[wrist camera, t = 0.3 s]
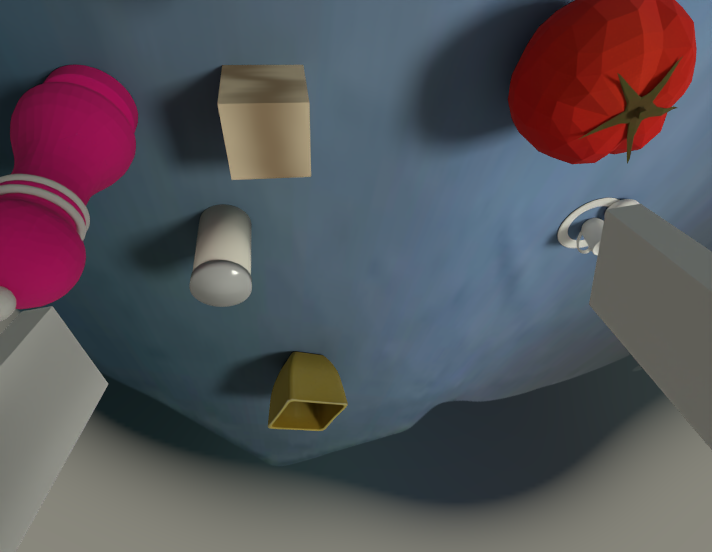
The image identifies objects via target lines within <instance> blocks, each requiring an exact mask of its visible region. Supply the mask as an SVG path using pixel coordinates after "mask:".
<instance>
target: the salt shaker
mask: <svg viewBox="0 0 712 552" xmlns="http://www.w3.org/2000/svg"><path fill="white" fill-rule="evenodd" d="M251 289H252V278H251V220H250V218H249V216H248V215H247V214H246V213H245V212H244V211H243V210H241V209H240V208H238V207H235V206H232V205H225V204H221V205H215V206H212V207H209V208H208V209H206V210H205V211H204V212H203V213H202V215H201V217H200V221H199V228H198V236H197V243H196V251H195V258H194V266H193V272H192V274H191V279H190V291H191V293H192V295H193V296H194V297H195V298H196V299H197V300H199V301H201V302H203V303H205V304H208V305H212V306H218V307H226V306H232V305H236V304H239V303H241V302H243V301H244V300H246V299H247V298H248V297H249V295H250V293H251Z"/></svg>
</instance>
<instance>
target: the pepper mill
mask: <svg viewBox="0 0 712 552" xmlns="http://www.w3.org/2000/svg"><path fill="white" fill-rule="evenodd" d="M137 123H138V112H137V108H136V105H135V103H134V100H133V99H132V97H131V95H130V94H129V92H128V91H127V90H126V89H125V88H124V87H123V86H122V85H121V84H120V83H119V82H118V81H117V80H116V79H114V78H113V77H111V76H110V75H108V74H106V73H104V72H103V71H101V70H98V69H95V68H92V67H88V66H83V65H67V66H63V67H60V68H58V69H56V70H54V71H53V72H52V73H51V74H50V75H49V76H48V77H47V79H46V80H45V81H44V83H43V84H40V85H37V86H35V87H33V88H31V89H29V90H28V91H27V92H26V93H24V94H23V95H22V97H21V98H20V99H19V101H18V103H17V105H16V107H15V109H14V112H13V114H12V117H11V124H10V140H11V145H12V149H13V154H14V160H15V164H14V169H13V171H12V173H11V175H6V176H2V177H0V321H2V320H4V319H6V318H8V317H9V316H10V315H11V314H12V313H13V312H14V310H15V309H26V308H33V307H40V306H43V305H46V304H49V303H51V302H53V301H55V300H57V299H59V298H61V297H62V296H64V295H65V294H67V293H68V292H69V291H70V290H71V289H72V287H73V286H74V285H75V284H76V283H77V281H78V280H79V278H80V276H81V274H82V272H83V269H84V266H85V260H86V253H85V247H84V243H83V240H84V238H85V234H86V231H87V230H88V227H89V223H90V216H89V213H88V210H87V208H86V205H87V203H88V201H89V199H90V197H91V196H92V195H94V194H95V193H97V192H99V191H101V190H103V189H105V188H107V187H109V186H110V185H112V184H113V183H115V182H116V181H117V180H118V179H119V178H120V177H122V176H123V175H124V174H125V172H126V171H127V169H128V168H129V166H130V164H131V162H132V161H133V158H134V155H135V150H136V140H135V135H134V132H135V130H136V127H137Z"/></svg>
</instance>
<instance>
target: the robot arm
mask: <svg viewBox="0 0 712 552" xmlns="http://www.w3.org/2000/svg"><path fill="white" fill-rule="evenodd" d="M589 305H590V306H591V307H592V308H593V310H594V311H595V312H596V313H597V314H598V316H599V317H600V318H601V319H602V320H603V321H604V323H605V324H606V325H607V326H608V327H609V329H610V330H611V331H612V332H613V333H614V335H615V336H616V337H617V338H618V339H619V340H620V342H621V343H622V344H623V345H624V346H625V348H626V349H627V350H628V351H629V352H630V353H631V355H632V356H633V357H634V358H635V359H636V360H637V362H638V363H639V364H640V365H641V367H642V368H643V369H644V370H645V371H646V372H647V374H648V375H649V376H650V377H651V378H652V380H653V381H654V382H655V383H656V384H657V385H658V387H659V388H660V389H661V390H662V391H663V393H664V394H665V395H666V396H667V397H668V399H669V400H670V401H671V402H672V403H673V405H674V406H675V407H676V408H677V409H678V410H679V412H680V413H681V414H682V415H683V416H684V418H685V419H686V420H687V421H688V422H689V423H690V424H691V426H692V427H693V428H694V429H695V431H696V432H697V433H698V434H699V435H700V437H701V438H702V439H703V440H704V441H705V443H706V444H707V445H708V446H709V447H710V448H711V449H712V252H711V251H710V250H708V249H707V248H705V247H704V246H702V245H701V244H699V243H698V242H696V241H695V240H693V239H692V238H691V237H689V236H688V235H686V234H685V233H683V232H682V231H680V230H679V229H677V228H676V227H674V226H673V225H671V224H670V223H668V222H667V221H665V220H664V219H662V218H661V217H659V216H658V215H656V214H655V213H653V212H652V211H650V210H649V209H647V208H646V207H645V206H643V205H642V204H635V205H629V206H624V207H618V208H612V209H607V210H606V212H605V218H604V224H603V229H602V235H601V241H600V246H599V252H598V258H597V263H596V269H595V274H594V280H593V286H592V291H591V297H590V303H589ZM107 385H108V383H107V381H106V380H105V379H104V377H103V376H102V375H101V373H100V372H99V370H98V369H97V368H96V366H95V365H94V363H93V362H92V361H91V359H90V358H89V356H88V355H87V354H86V352H85V351H84V349H83V348H82V347H81V345H80V344H79V342H78V341H77V340H76V338H75V337H74V336H73V334H72V333H71V331H70V330H69V329H68V327H67V326H66V324H65V323H64V322H63V320H62V319H61V317H60V316H59V315H58V313H57V312H56V310H55V309H54V308H53V306H51V307H45V308H39V309H33V310H28V311H22V312H21V313H20V314H19V315H18V316H17V317H16V318H15V319H14V320H13V322H12V323H11V324H10V325H9V326H8V327H7V328H6V329H5V330H4V331H3V332H2V333H1V334H0V552H16V550H17V548H18V547H19V545H20V543H21V541H22V539H23V538H24V536H25V534H26V532H27V530H28V529H29V527H30V525H31V523H32V521H33V519H34V518H35V516H36V514H37V512H38V510H39V508H40V507H41V505H42V503H43V501H44V500H45V498H46V496H47V494H48V492H49V491H50V489H51V487H52V485H53V483H54V481H55V479H56V478H57V476H58V474H59V472H60V471H61V469H62V467H63V465H64V463H65V462H66V460H67V458H68V456H69V454H70V452H71V451H72V449H73V447H74V445H75V443H76V442H77V440H78V438H79V436H80V434H81V433H82V431H83V429H84V427H85V425H86V424H87V422H88V420H89V418H90V416H91V414H92V413H93V411H94V409H95V407H96V405H97V404H98V402H99V400H100V398H101V396H102V395H103V393H104V391H105V389H106V387H107Z"/></svg>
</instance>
